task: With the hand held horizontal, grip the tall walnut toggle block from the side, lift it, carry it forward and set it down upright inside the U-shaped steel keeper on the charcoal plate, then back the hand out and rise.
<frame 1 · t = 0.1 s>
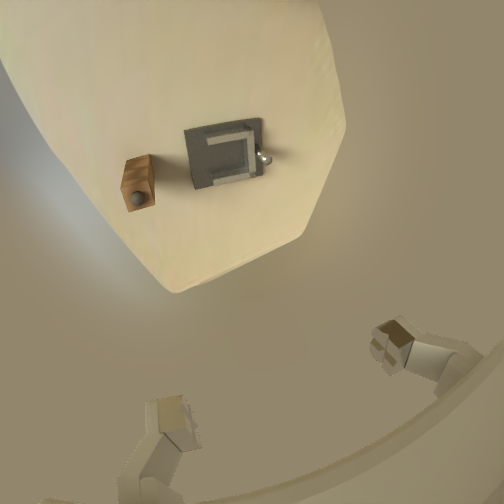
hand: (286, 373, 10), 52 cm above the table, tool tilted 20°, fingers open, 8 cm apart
walnut toggle block: (140, 167, 53), on the table
keeper bracket: (225, 152, 57), on the table
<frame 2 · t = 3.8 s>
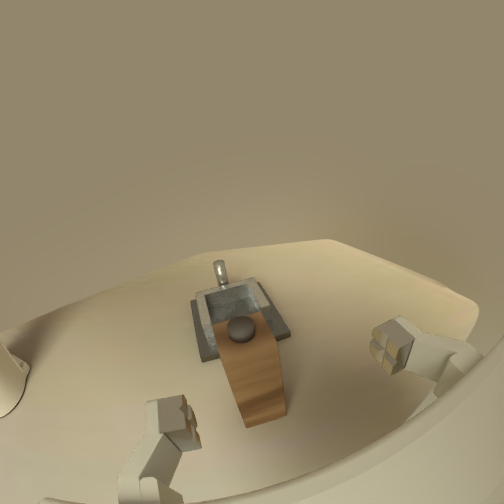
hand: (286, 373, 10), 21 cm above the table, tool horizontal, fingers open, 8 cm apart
walnut toggle block: (260, 406, 30), on the table
keeper bracket: (235, 319, 46), on the table
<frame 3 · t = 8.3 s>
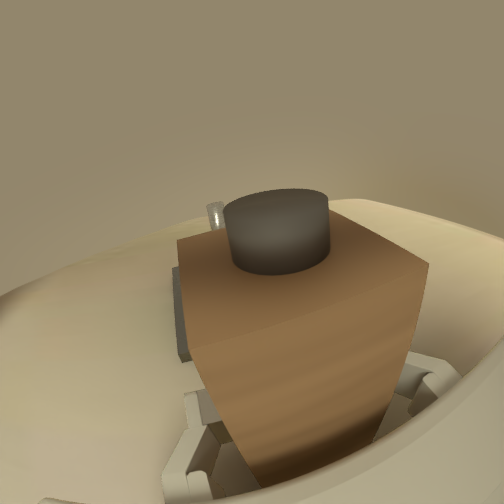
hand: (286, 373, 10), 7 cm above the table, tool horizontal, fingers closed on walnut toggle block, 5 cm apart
walnut toggle block: (299, 453, 12), on the table, touching gripper
keeper bracket: (240, 291, 29), on the table
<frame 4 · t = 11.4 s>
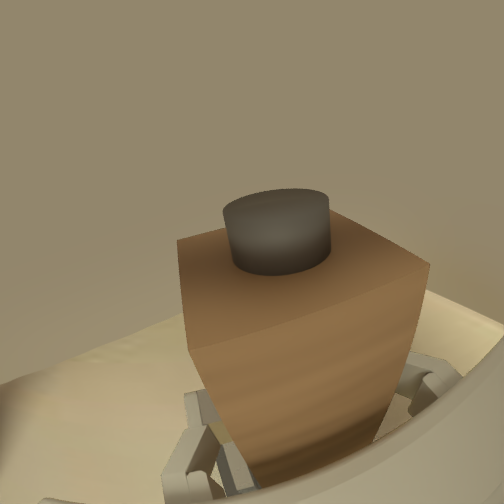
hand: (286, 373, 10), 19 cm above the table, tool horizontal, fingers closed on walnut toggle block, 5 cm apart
walnut toggle block: (299, 454, 12), point 12 cm above the table, touching gripper
keeper bracket: (286, 450, 22), on the table
when the fingers open (9 cm above the table, at t = 14.8 s): walnut toggle block stays where it is, resting on keeper bracket.
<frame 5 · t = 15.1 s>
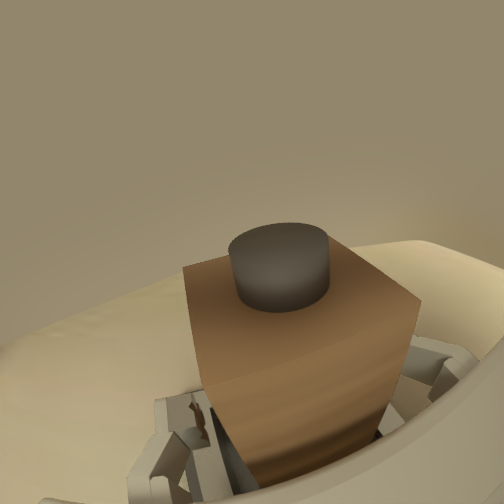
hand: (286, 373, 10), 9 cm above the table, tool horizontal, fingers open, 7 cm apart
walnut toggle block: (298, 459, 13), point 1 cm above the table, touching keeper bracket
keeper bracket: (299, 463, 13), on the table
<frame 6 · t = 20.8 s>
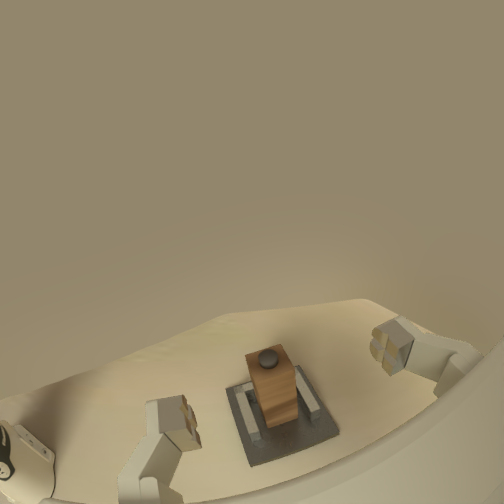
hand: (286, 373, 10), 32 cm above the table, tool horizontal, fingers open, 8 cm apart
walnut toggle block: (277, 411, 38), point 1 cm above the table, touching keeper bracket
keeper bracket: (278, 414, 39), on the table
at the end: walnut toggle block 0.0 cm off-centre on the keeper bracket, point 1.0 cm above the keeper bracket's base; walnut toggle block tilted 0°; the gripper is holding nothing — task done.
